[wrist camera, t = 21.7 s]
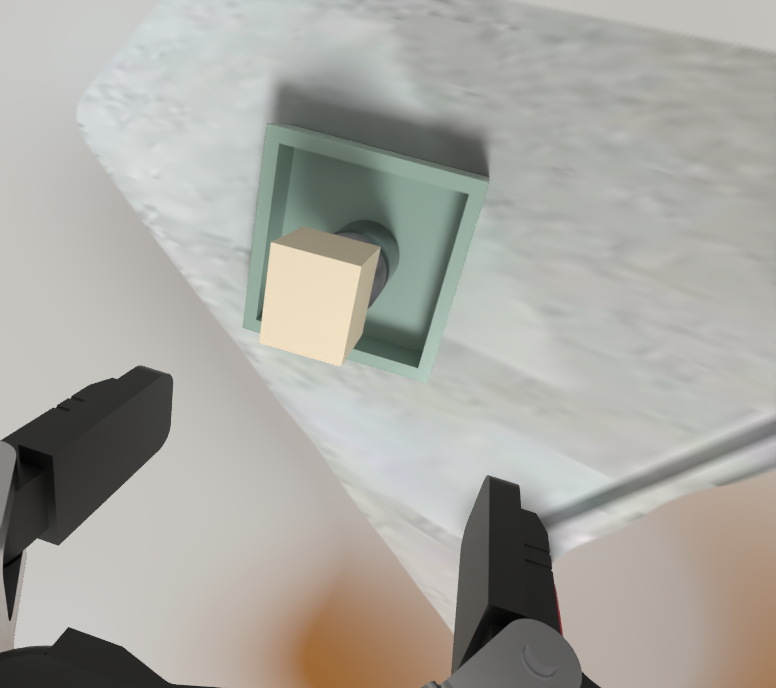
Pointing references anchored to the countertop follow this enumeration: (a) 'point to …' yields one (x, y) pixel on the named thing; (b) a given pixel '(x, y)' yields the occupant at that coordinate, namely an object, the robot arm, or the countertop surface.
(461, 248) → the tote
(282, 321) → the carton
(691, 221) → the countertop surface
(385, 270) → the tin
